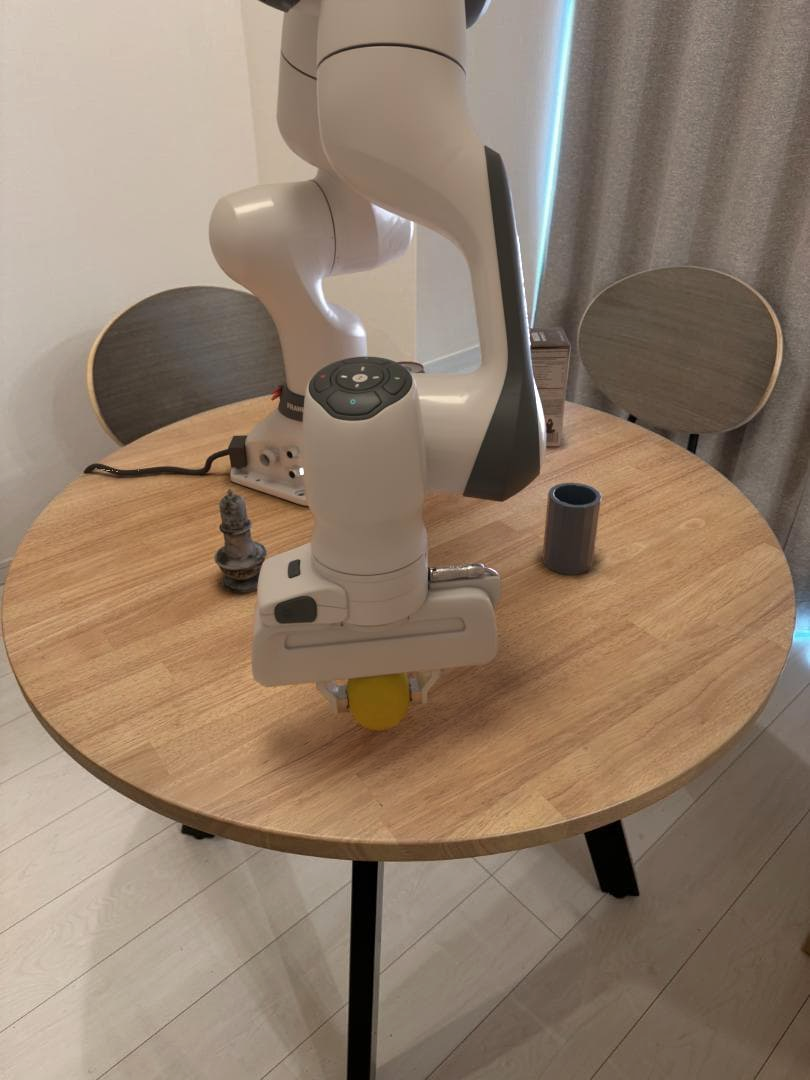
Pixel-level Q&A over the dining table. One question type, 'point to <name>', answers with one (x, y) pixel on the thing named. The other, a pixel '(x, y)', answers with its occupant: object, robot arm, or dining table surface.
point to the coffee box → (550, 376)
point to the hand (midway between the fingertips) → (378, 703)
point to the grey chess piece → (238, 547)
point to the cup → (571, 528)
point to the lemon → (379, 700)
